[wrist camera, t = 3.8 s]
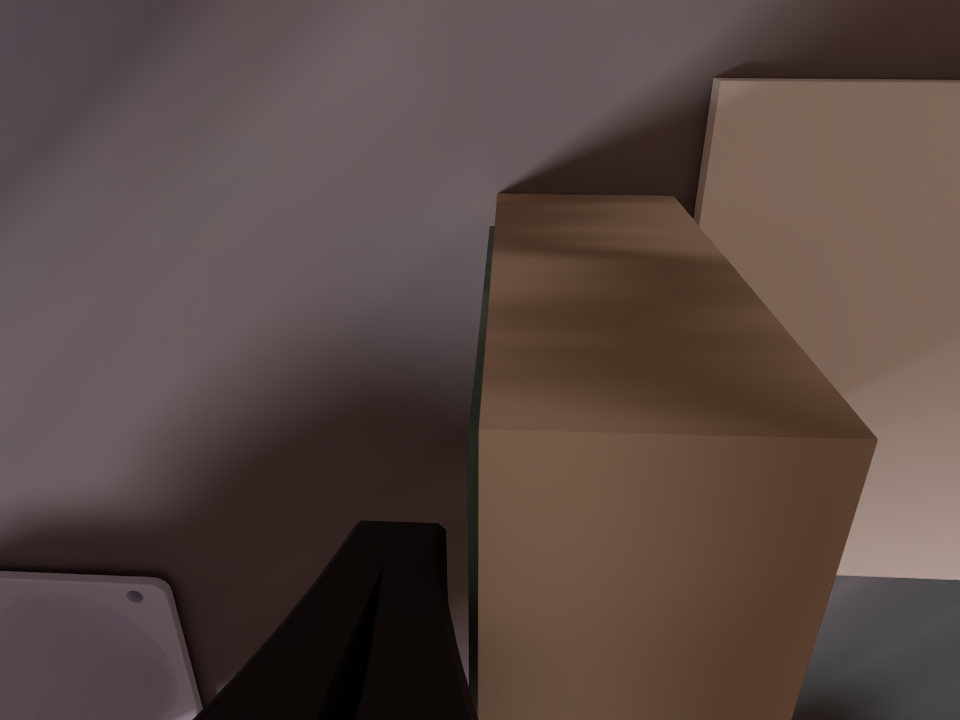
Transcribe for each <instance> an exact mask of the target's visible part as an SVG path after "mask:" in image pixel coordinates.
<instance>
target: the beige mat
mask: <svg viewBox="0 0 960 720" xmlns="http://www.w3.org/2000/svg"><path fill="white" fill-rule="evenodd" d="M693 219H694V221H695V222H696V223H697V224H698V225H699V227H700V228H701V229H702V230H703V231H704V233H705V234H706V235H707V236H708V237H709V238H710V240H711V241H712V242H713V243H714V244H715V246H716V247H717V248H718V249H719V250H720V252H721V253H722V254H723V255H724V256H725V258H726V259H727V260H728V261H729V262H730V263H731V265H732V266H733V267H734V268H735V269H736V271H737V272H738V273H739V274H740V275H741V277H742V278H743V279H744V280H745V281H746V283H747V284H748V285H749V286H750V287H751V288H752V290H753V291H754V292H755V293H756V294H757V296H758V297H759V298H760V299H761V300H762V302H763V303H764V304H765V305H766V306H767V308H768V309H769V310H770V311H771V312H772V314H773V315H774V316H775V317H776V318H777V319H778V321H779V322H780V323H781V324H782V325H783V327H784V328H785V329H786V330H787V331H788V333H789V334H790V335H791V336H792V337H793V339H794V340H795V341H796V342H797V343H798V344H799V346H800V347H801V348H802V349H803V350H804V352H805V353H806V354H807V355H808V356H809V358H810V359H811V360H812V361H813V362H814V364H815V365H816V366H817V367H818V368H819V369H820V371H821V372H822V373H823V374H824V375H825V377H826V378H827V379H828V380H829V381H830V383H831V384H832V385H833V386H834V387H835V389H836V390H837V391H838V392H839V393H840V395H841V396H842V397H843V398H844V399H845V400H846V402H847V403H848V404H849V405H850V406H851V408H852V409H853V410H854V411H855V412H856V414H857V415H858V416H859V417H860V418H861V420H862V421H863V422H864V423H865V424H866V425H867V427H868V428H869V429H870V430H871V431H872V433H873V434H874V435H875V436H876V437H877V439H878V442H877V445H876V448H875V451H874V455H873V458H872V461H871V464H870V467H869V471H868V474H867V477H866V480H865V484H864V487H863V490H862V493H861V496H860V500H859V503H858V506H857V509H856V513H855V516H854V519H853V522H852V526H851V529H850V532H849V535H848V538H847V542H846V545H845V548H844V551H843V555H842V558H841V561H840V564H839V567H838V571H837V574H836V575H847V576H873V577H898V578H924V579H950V580H960V80H905V79H785V78H713V85H712V92H711V99H710V106H709V113H708V120H707V127H706V134H705V141H704V148H703V155H702V162H701V169H700V176H699V183H698V190H697V197H696V204H695V211H694V218H693Z"/></svg>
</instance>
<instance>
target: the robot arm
mask: <svg viewBox="0 0 960 720" xmlns="http://www.w3.org/2000/svg"><path fill="white" fill-rule="evenodd" d="M138 592H139V593H138ZM0 720H479V719H478V716H477V713H476V710H475V707H474V703H473V700H472V697H471V694H470V690H469V687H468V683H467V680H466V676H465V673H464V669H463V666H462V662H461V658H460V654H459V650H458V646H457V642H456V638H455V633H454V628H453V623H452V619H451V614H450V609H449V604H448V587H447V552H446V530H445V529H444V528H443V527H442V526H441V525H440V524H439V523H413V522H384V521H360V522H359V523H358V524H357V525H355V526H354V528H353V529H352V531H351V532H350V534H349V535H348V537H347V538H346V539H345V541H344V542H343V544H342V545H341V547H340V548H339V550H338V551H337V552H336V554H335V555H334V557H333V558H332V559H331V561H330V562H329V563H328V565H327V566H326V567H325V569H324V570H323V571H322V573H321V574H320V575H319V577H318V578H317V579H316V581H315V582H314V583H313V585H312V586H311V587H310V589H309V590H308V591H307V592H306V594H305V595H304V596H303V597H302V599H301V600H300V601H299V602H298V603H297V605H296V606H295V607H294V608H293V610H292V611H291V612H290V613H289V615H288V616H287V617H286V618H285V620H284V621H283V622H282V623H281V625H280V626H279V627H278V628H277V629H276V630H275V632H274V633H273V634H272V635H271V636H270V637H269V639H268V640H267V641H266V642H265V643H264V644H263V645H262V646H261V647H260V649H259V650H258V651H257V652H256V653H255V654H254V655H253V656H252V658H251V659H250V660H249V661H248V662H247V663H246V664H245V665H244V666H243V668H242V669H241V670H240V671H239V672H238V673H237V674H236V675H235V676H234V678H233V679H232V680H231V681H230V682H229V683H228V684H227V685H226V686H225V687H224V688H223V689H222V690H221V691H220V692H219V693H218V694H217V695H216V696H215V697H214V698H213V699H212V700H211V701H210V702H209V703H208V704H207V705H206V706H205V707H204V708H203V707H202V704H201V700H200V696H199V692H198V688H197V685H196V681H195V677H194V673H193V669H192V666H191V662H190V658H189V654H188V650H187V647H186V643H185V639H184V635H183V631H182V628H181V624H180V620H179V616H178V612H177V609H176V605H175V601H174V597H173V593H172V590H171V588H170V586H169V584H167V583H166V582H165V581H164V580H162V579H160V578H155V577H135V576H111V575H86V574H62V573H37V572H13V571H0Z"/></svg>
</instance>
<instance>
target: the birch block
mask: <svg viewBox="0 0 960 720" xmlns="http://www.w3.org/2000/svg"><path fill="white" fill-rule="evenodd" d="M877 442H878V439H877V437H876V436H875V435H874V434H873V433H872V431H871V430H870V429H869V428H868V427H867V425H866V424H865V423H864V422H863V421H862V420H861V418H860V417H859V416H858V415H857V414H856V412H855V411H854V410H853V409H852V408H851V406H850V405H849V404H848V403H847V402H846V400H845V399H844V398H843V397H842V396H841V395H840V393H839V392H838V391H837V390H836V389H835V387H834V386H833V385H832V384H831V383H830V381H829V380H828V379H827V378H826V377H825V375H824V374H823V373H822V372H821V371H820V369H819V368H818V367H817V366H816V365H815V364H814V362H813V361H812V360H811V359H810V358H809V356H808V355H807V354H806V353H805V352H804V350H803V349H802V348H801V347H800V346H799V344H798V343H797V342H796V341H795V340H794V339H793V337H792V336H791V335H790V334H789V333H788V331H787V330H786V329H785V328H784V327H783V325H782V324H781V323H780V322H779V321H778V319H777V318H776V317H775V316H774V315H773V314H772V312H771V311H770V310H769V309H768V308H767V306H766V305H765V304H764V303H763V302H762V300H761V299H760V298H759V297H758V296H757V294H756V293H755V292H754V291H753V290H752V288H751V287H750V286H749V285H748V284H747V283H746V281H745V280H744V279H743V278H742V277H741V275H740V274H739V273H738V272H737V271H736V269H735V268H734V267H733V266H732V265H731V263H730V262H729V261H728V260H727V259H726V258H725V256H724V255H723V254H722V253H721V252H720V250H719V249H718V248H717V247H716V246H715V244H714V243H713V242H712V241H711V240H710V238H709V237H708V236H707V235H706V234H705V233H704V231H703V230H702V229H701V228H700V227H699V225H698V224H697V223H696V222H695V221H694V219H693V218H692V217H691V216H690V215H689V213H688V212H687V211H686V210H685V209H684V207H683V206H682V205H681V204H680V203H679V202H678V200H677V199H676V198H675V197H674V196H655V195H581V194H506V193H497V205H496V218H495V226H490V230H489V240H488V250H487V260H486V270H485V280H484V289H483V299H482V309H481V319H480V329H479V339H478V349H477V358H476V368H475V378H474V388H473V398H472V408H471V418H470V428H469V437H468V588H469V690H470V694H471V697H472V700H473V703H474V707H475V710H476V713H477V716H478V719H479V720H791V719H792V716H793V713H794V709H795V706H796V703H797V700H798V697H799V693H800V690H801V687H802V684H803V680H804V677H805V674H806V671H807V668H808V664H809V661H810V658H811V655H812V651H813V648H814V645H815V642H816V638H817V635H818V632H819V629H820V626H821V622H822V619H823V616H824V613H825V609H826V606H827V603H828V600H829V597H830V593H831V590H832V587H833V584H834V580H835V577H836V574H837V571H838V567H839V564H840V561H841V558H842V555H843V551H844V548H845V545H846V542H847V538H848V535H849V532H850V529H851V526H852V522H853V519H854V516H855V513H856V509H857V506H858V503H859V500H860V496H861V493H862V490H863V487H864V484H865V480H866V477H867V474H868V471H869V467H870V464H871V461H872V458H873V455H874V451H875V448H876V445H877Z"/></svg>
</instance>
